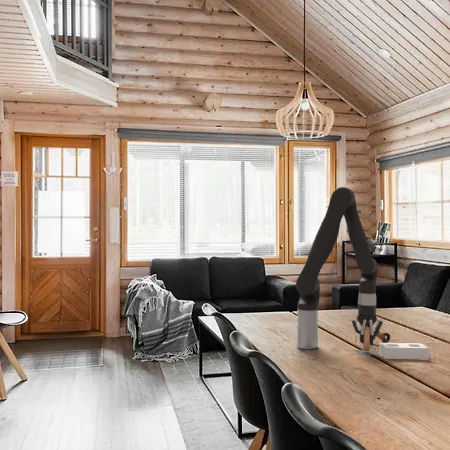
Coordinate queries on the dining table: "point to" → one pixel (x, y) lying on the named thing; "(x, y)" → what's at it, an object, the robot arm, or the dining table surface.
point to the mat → (366, 352)
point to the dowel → (366, 339)
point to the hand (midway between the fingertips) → (366, 343)
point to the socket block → (404, 351)
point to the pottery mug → (382, 337)
